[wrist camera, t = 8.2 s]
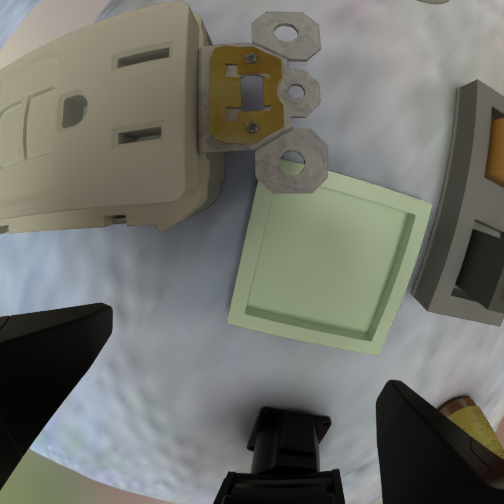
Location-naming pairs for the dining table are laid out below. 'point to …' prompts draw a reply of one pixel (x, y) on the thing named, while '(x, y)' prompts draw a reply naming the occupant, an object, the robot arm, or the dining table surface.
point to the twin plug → (484, 271)
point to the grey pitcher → (434, 1)
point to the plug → (496, 153)
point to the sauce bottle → (473, 423)
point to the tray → (328, 262)
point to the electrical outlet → (149, 120)
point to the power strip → (463, 208)
